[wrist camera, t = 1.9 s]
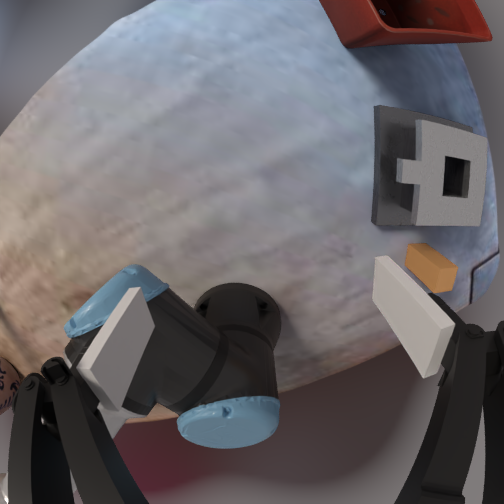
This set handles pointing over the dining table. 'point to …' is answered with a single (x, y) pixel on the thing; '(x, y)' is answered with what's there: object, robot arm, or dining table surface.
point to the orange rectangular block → (431, 267)
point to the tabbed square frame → (426, 170)
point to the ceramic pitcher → (7, 384)
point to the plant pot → (406, 22)
